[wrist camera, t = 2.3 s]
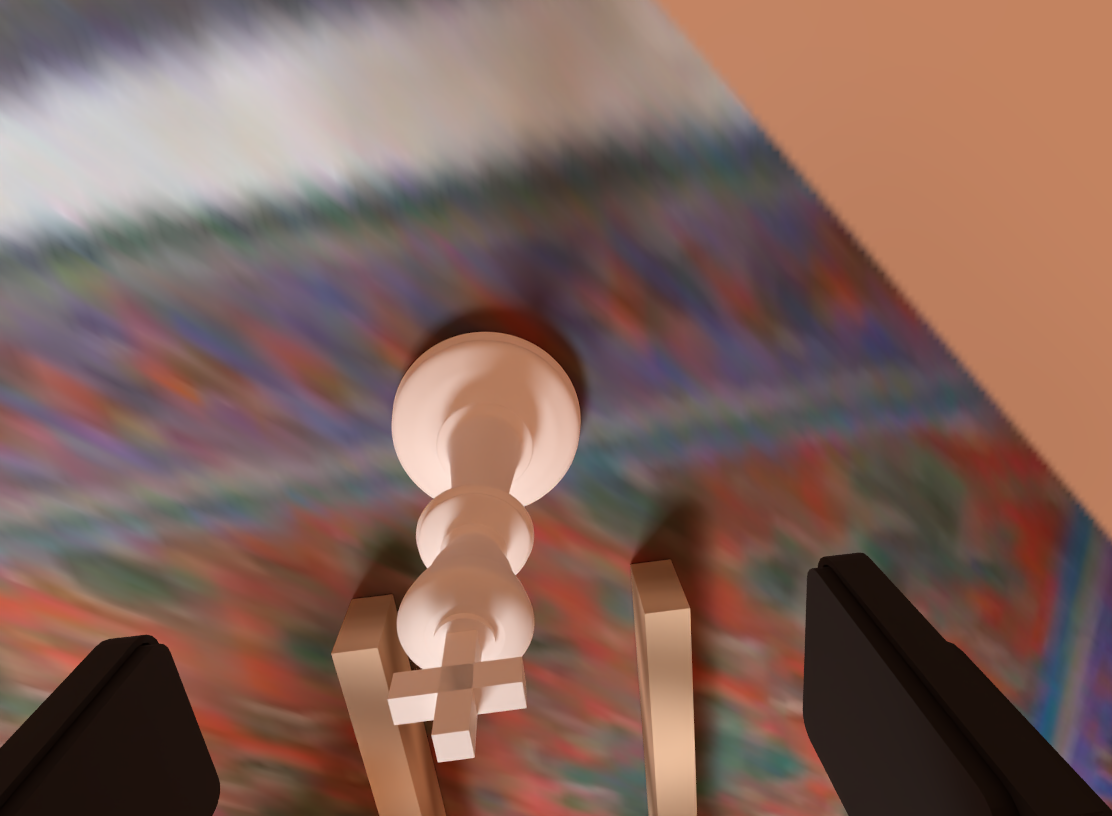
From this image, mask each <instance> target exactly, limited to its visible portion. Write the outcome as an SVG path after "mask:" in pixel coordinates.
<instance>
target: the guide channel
mask: <svg viewBox="0 0 1112 816" xmlns="http://www.w3.org/2000/svg"><path fill="white" fill-rule="evenodd" d="M630 567H631V581H632V594H633V608H634V622H635V635H636V649H637V663H638V676H639V690H640V704H641V717H642V731H643V745H644V758H645V772H646V786H647V800H648V813H649V816H697V801H696V770H695V740H694V710H693V680H692V649H691V619H690V607H689V604H688V602H687V599H686V597H685V594H684V592H683V589H682V587H681V584H680V582H679V579H678V576H677V574H676V571H675V569H674V566H673V564H672V561H671V559H669V560H661V561H654V562H646V563H638V564H630ZM397 615H398V614H397V609H396V605H395V601H394V597H393V594H390V595H382V596H374V597H366V598H358V599H352V600H351V603H350V605H349V608H348V611H347V613H346V616H345V619H344V621H343V624H342V626H341V629H340V632H339V634H338V637H337V640H336V642H335V645H334V648H333V650H332V653H331V655H332V658H333V661H334V665H335V668H336V672H337V675H338V678H339V682H340V685H341V688H342V692H343V695H344V699H345V702H346V705H347V709H348V712H349V715H350V719H351V722H352V725H353V729H354V732H355V736H356V739H357V742H358V746H359V749H360V752H361V756H362V759H363V763H364V766H365V769H366V773H367V776H368V779H369V783H370V786H371V790H372V793H373V796H374V800H375V803H376V806H377V810H378V813H379V816H446V813H445V809H444V804H443V800H442V796H441V792H440V788H439V784H438V780H437V775H436V771H435V767H434V763H433V759H432V755H431V750H430V746H429V742H428V738H427V734H426V730H425V726H424V721H423V722H416V723H408V724H400V725H394V722H393V719H392V715H391V711H390V707H389V704H388V700H387V699H388V694H389V690H390V686H391V682H392V678H393V673H398V672H405V671H411V668H410V663H409V659H408V655H407V654H406V652H405V651H404V649H403V647H402V645H401V643H400V640H399V637H398V633H397Z"/></svg>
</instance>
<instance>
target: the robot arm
mask: <svg viewBox="0 0 1112 816" xmlns="http://www.w3.org/2000/svg"><path fill="white" fill-rule="evenodd" d="M803 718H804V723H805V727H806V731H807V734H808V736H809V739H810V741H811V743H812V745H813V747H814V749H815V751H816V753H817V755H818V757H819V759H820V761H821V763H822V764H823V766H824V768H825V770H826V772H827V774H828V776H829V778H830V780H831V782H832V784H833V786H834V788H835V790H836V792H837V794H838V796H839V798H840V800H841V802H842V804H843V806H844V808H845V810H846V812H847V813H848V815H849V816H1112V810H1111V809H1110V808H1109V807H1108V806H1107V805H1106V804H1105V803H1104V802H1103V800H1102V799H1101V798H1100V797H1099V796H1098V795H1097V794H1096V793H1095V792H1094V791H1093V790H1092V789H1091V788H1090V787H1089V786H1088V784H1087V783H1086V782H1085V781H1084V780H1083V779H1082V778H1081V777H1080V776H1079V775H1078V774H1077V773H1076V772H1075V771H1074V770H1073V768H1072V767H1071V766H1070V765H1069V764H1068V763H1067V762H1066V761H1065V760H1064V759H1063V758H1062V757H1061V756H1060V755H1059V754H1058V752H1057V751H1056V750H1055V749H1054V748H1053V747H1052V746H1051V745H1050V744H1049V743H1048V742H1047V741H1046V740H1045V739H1044V738H1043V736H1042V735H1041V734H1040V733H1039V732H1038V731H1037V730H1036V729H1035V728H1034V727H1033V726H1032V725H1031V724H1030V723H1029V722H1028V720H1027V719H1026V718H1025V717H1024V716H1023V715H1022V714H1021V713H1020V712H1019V711H1018V710H1017V709H1016V708H1015V707H1014V706H1013V704H1012V703H1011V702H1010V701H1009V700H1008V699H1007V698H1006V697H1005V696H1004V695H1003V694H1002V693H1001V692H1000V691H999V690H998V688H997V687H996V686H995V685H994V684H993V683H992V682H991V681H990V680H989V679H988V678H987V677H986V676H985V675H984V674H983V672H982V671H981V670H980V669H979V668H978V667H977V666H976V665H975V664H974V663H973V662H972V661H971V660H970V659H969V658H968V656H967V655H966V654H965V653H964V652H963V651H961V650H960V649H959V648H958V647H957V646H956V645H954V644H952V643H950V642H947V641H946V640H945V639H944V638H943V637H942V636H941V635H940V634H939V633H938V632H937V631H936V629H935V628H934V627H933V626H932V625H931V624H930V623H929V622H928V621H927V620H926V619H925V618H924V616H923V615H922V614H921V613H920V612H919V611H918V610H917V609H916V608H915V607H914V606H913V605H912V603H911V602H910V601H909V600H908V599H907V598H906V597H905V596H904V595H903V594H902V593H901V592H900V590H899V589H898V588H897V587H896V586H895V585H894V584H893V583H892V582H891V581H890V580H889V579H888V577H887V576H886V575H885V574H884V573H883V572H882V571H881V570H880V569H879V568H878V567H877V566H876V564H875V563H874V562H873V561H872V560H871V559H870V558H869V557H868V556H867V555H865V554H864V553H852V554H844V555H835V556H826V557H823V558H821V559H820V561H819V563H818V568H812V569H810V570H809V572H808V575H807V598H806V628H805V659H804V690H803ZM219 794H220V782H219V778H218V775H217V773H216V770H215V767H214V765H213V762H212V760H211V757H210V754H209V752H208V749H207V746H206V744H205V741H204V739H203V736H202V733H201V731H200V728H199V726H198V723H197V720H196V718H195V715H194V713H193V710H192V707H191V705H190V702H189V700H188V697H187V694H186V692H185V689H184V687H183V684H182V681H181V679H180V676H179V673H178V671H177V668H176V666H175V663H174V660H173V658H172V655H171V653H170V651H169V649H168V647H167V646H165V645H164V644H159V643H158V641H157V639H155V638H154V637H153V636H150V635H140V636H131V637H123V638H114V639H108V640H105V641H102V642H101V643H100V644H99V645H97V646H96V647H95V648H94V649H93V650H92V651H91V652H90V653H89V655H88V656H87V657H86V658H85V659H84V660H83V661H82V662H81V663H80V664H79V665H78V666H77V667H76V668H75V669H74V670H73V672H72V673H71V674H70V675H69V676H68V677H67V678H66V679H65V680H64V681H63V682H62V683H61V684H60V685H59V686H58V687H57V688H56V690H55V691H54V692H53V693H52V694H51V695H50V696H49V697H48V698H47V699H46V700H45V701H44V702H43V703H42V704H41V705H40V707H39V708H38V709H37V710H36V711H35V712H34V713H33V714H32V715H31V716H30V717H29V718H28V719H27V720H26V721H25V722H24V723H23V725H22V726H21V727H20V728H19V729H18V730H17V731H16V732H15V733H14V734H13V735H12V736H11V737H10V738H9V739H8V740H7V741H6V743H5V744H4V745H3V746H2V747H1V748H0V816H212V815H213V813H214V811H215V809H216V806H217V804H218V800H219Z"/></svg>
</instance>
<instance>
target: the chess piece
mask: <svg viewBox="0 0 1112 816" xmlns="http://www.w3.org/2000/svg"><path fill="white" fill-rule="evenodd" d="M580 425H581V415H580V406H579V401H578V398H577V394H576V391H575V389H574V387H573V384H572V382H571V380H570V379H569V377H568V375H567V374H566V372H565V371H564V370H563V368H562V367H561V366H560V365H559V364H558V362H557V361H556V360H555V359H554V358H552V357H551V356H550V355H549V354H548V353H547V352H545V351H544V350H542V349H541V348H539V347H538V346H536V345H534V344H533V343H531V342H529V341H527V340H524V339H522V338H519V337H516V336H513V335H509V334H504V333H498V332H473V333H466V334H462V335H458V336H455V337H452V338H449V339H446V340H444V341H442V342H440V343H438V344H436V345H435V346H433V347H431V348H430V349H428V350H427V351H426V352H424V353H423V354H422V355H421V356H420V357H419V358H418V359H417V360H416V361H415V362H414V363H413V364H412V365H411V366H410V368H409V369H408V370H407V372H406V373H405V375H404V377H403V378H402V380H401V382H400V384H399V387H398V389H397V392H396V395H395V399H394V404H393V413H392V438H393V443H394V447H395V450H396V453H397V456H398V458H399V461H400V463H401V465H402V466H403V468H404V470H405V471H406V473H407V474H408V476H409V477H410V478H411V479H412V480H413V482H414V483H415V484H416V485H417V486H418V487H419V488H420V489H421V490H423V491H424V492H425V493H426V494H428V495H429V496H431V497H432V498H434V499H433V500H431V501H430V502H429V504H428V505H427V506H426V507H425V509H424V510H423V512H422V513H421V515H420V518H419V520H418V523H417V528H416V541H417V546H418V550H419V553H420V556H421V559H422V561H423V563H424V564H425V566H426V567H427V569H426V570H425V571H424V572H423V573H422V574H421V575H420V576H419V577H418V578H417V579H416V581H415V582H414V583H413V584H412V586H411V587H410V588H409V590H408V591H407V593H406V594H405V596H404V598H403V600H402V602H401V604H400V607H399V610H398V615H397V633H398V637H399V640H400V643H401V645H402V647H403V649H404V651H405V652H406V654H407V655H408V656H409V658H410V659H411V660H412V661H413V662H414V663H415V664H416V665H418V666H419V667H420V668H422V669H421V670H413V671H405V672H398V673H393V678H392V682H391V686H390V690H389V694H388V699H387V700H388V704H389V707H390V711H391V715H392V719H393V722H394V725H400V724H408V723H416V722H423V721H431V720H434V721H433V728H432V734H431V736H432V740H433V744H434V748H435V753H436V757H437V761H438V762H446V761H454V760H461V759H469V758H475V745H476V731H477V716H478V714H485V713H493V712H500V711H508V710H516V709H523V708H527V705H526V679H525V673H524V666H523V660H522V656H523V654H524V653H525V652H526V650H527V648H528V647H529V645H530V642H531V640H532V637H533V632H534V612H533V608H532V605H531V602H530V599H529V597H528V595H527V593H526V591H525V589H524V587H523V585H522V584H521V582H520V580H519V579H518V578H517V576H516V574H517V573H518V572H519V571H520V570H521V569H522V567H523V566H524V564H525V563H526V561H527V559H528V557H529V555H530V553H531V550H532V547H533V543H534V528H533V523H532V520H531V518H530V516H529V514H528V512H527V510H526V509H525V507H524V506H526V505H529V504H531V503H533V502H534V501H536V500H538V499H540V498H541V497H543V496H544V495H545V494H547V493H548V492H549V491H550V490H551V489H553V488H554V487H555V486H556V485H557V484H558V482H559V481H560V480H561V479H562V478H563V476H564V475H565V474H566V472H567V470H568V469H569V467H570V465H571V463H572V461H573V459H574V456H575V453H576V450H577V446H578V442H579V433H580Z"/></svg>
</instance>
